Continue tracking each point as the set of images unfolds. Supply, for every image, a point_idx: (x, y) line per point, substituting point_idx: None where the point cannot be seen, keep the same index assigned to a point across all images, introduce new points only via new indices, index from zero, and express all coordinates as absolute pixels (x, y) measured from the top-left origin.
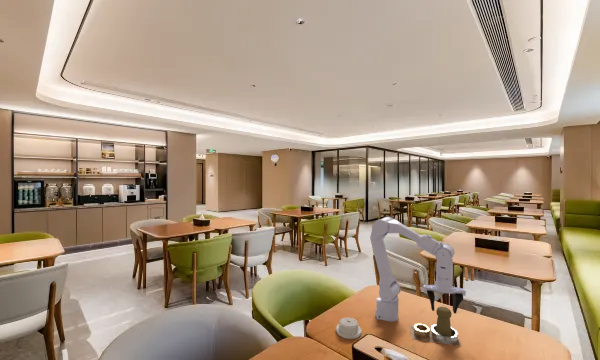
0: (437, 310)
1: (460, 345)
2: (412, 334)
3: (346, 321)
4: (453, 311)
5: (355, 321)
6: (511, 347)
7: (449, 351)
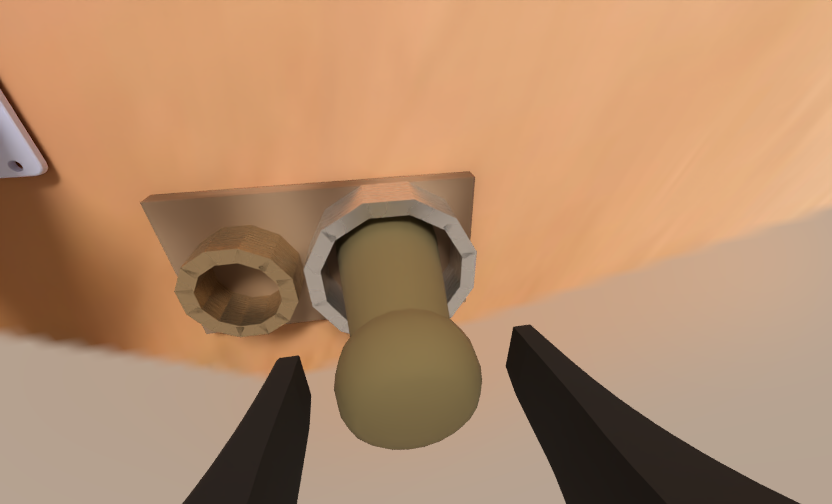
0: (343, 419)
1: None
2: None
3: None
4: (512, 351)
5: None
6: (709, 204)
7: None
